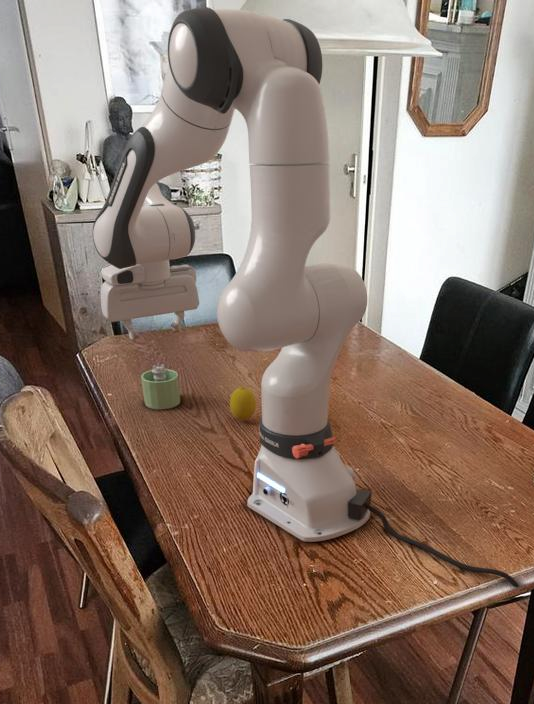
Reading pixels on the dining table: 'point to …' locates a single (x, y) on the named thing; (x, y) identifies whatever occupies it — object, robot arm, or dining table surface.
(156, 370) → the rook chess piece
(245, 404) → the lemon
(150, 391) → the cup
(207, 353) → the dining table surface
